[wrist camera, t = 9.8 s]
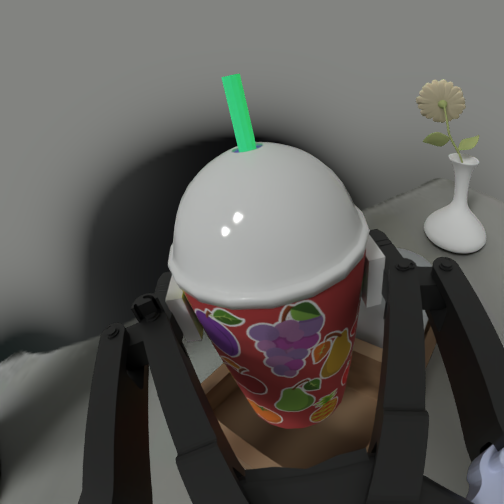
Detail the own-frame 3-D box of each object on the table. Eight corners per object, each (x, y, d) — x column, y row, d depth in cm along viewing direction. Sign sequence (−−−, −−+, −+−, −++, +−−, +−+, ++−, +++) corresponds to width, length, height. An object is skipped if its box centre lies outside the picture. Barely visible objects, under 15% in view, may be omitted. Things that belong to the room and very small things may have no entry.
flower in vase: (484, 230, 40) (495, 86, 26) (483, 267, 33) (506, 91, 19) (419, 215, 48) (418, 75, 34) (406, 248, 41) (407, 77, 27)
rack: (193, 425, 25) (161, 389, 21) (328, 286, 38) (325, 237, 34) (328, 521, 15) (332, 518, 11) (442, 326, 28) (458, 276, 24)
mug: (428, 328, 27) (446, 261, 22) (400, 387, 22) (422, 324, 18) (348, 299, 33) (347, 233, 29) (310, 347, 29) (303, 281, 24)
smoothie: (332, 337, 23) (303, 65, 13) (372, 421, 16) (408, 56, 6) (234, 366, 23) (137, 104, 12) (252, 458, 16) (69, 126, 5)
